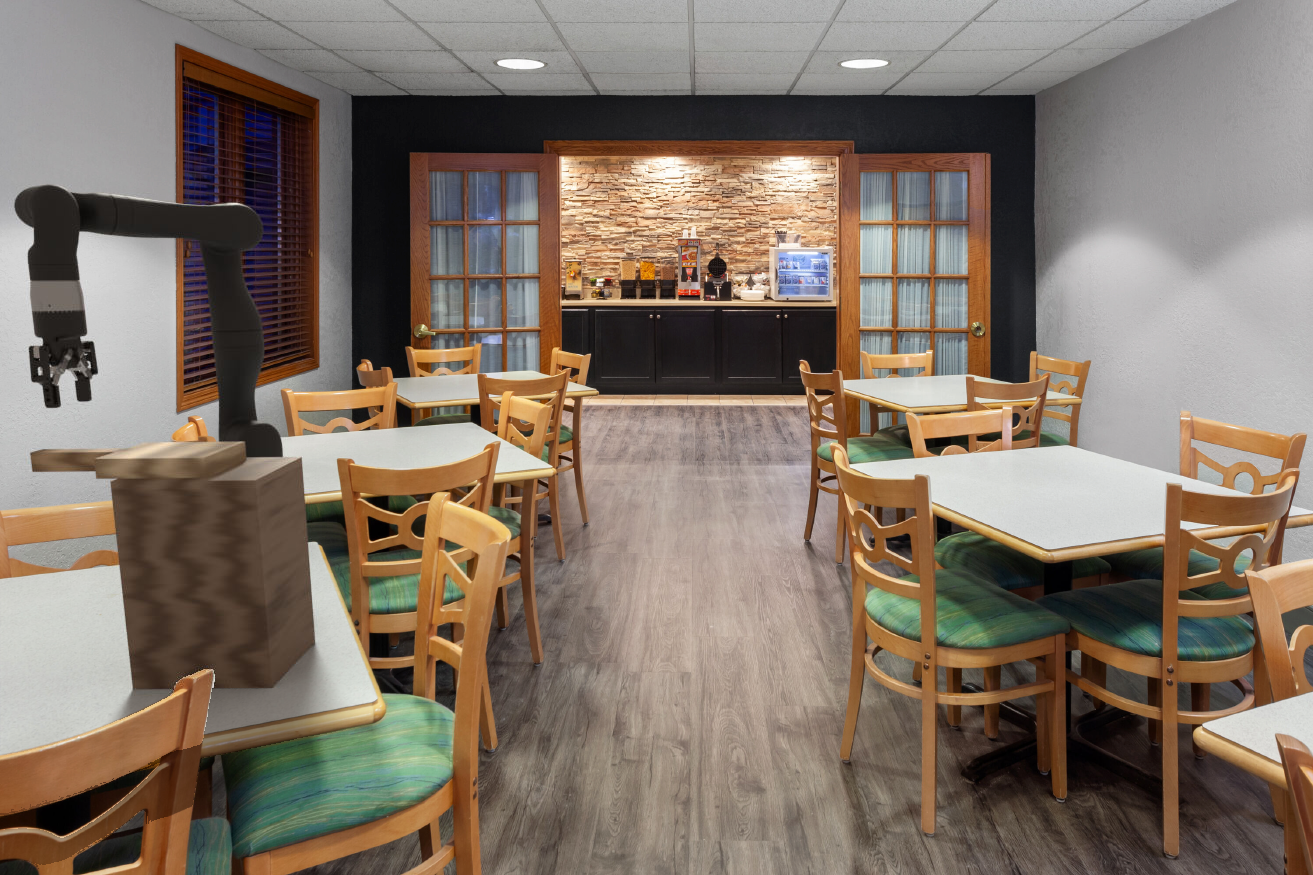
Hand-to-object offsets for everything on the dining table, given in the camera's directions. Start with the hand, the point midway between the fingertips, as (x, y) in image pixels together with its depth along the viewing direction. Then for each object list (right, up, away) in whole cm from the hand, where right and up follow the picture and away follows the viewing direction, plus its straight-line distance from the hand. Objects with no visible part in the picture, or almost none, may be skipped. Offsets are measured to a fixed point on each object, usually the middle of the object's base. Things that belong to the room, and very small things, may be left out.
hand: (69, 404), depth 157 cm
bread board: (+19, -11, -15) cm, 26 cm away
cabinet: (+31, -42, -9) cm, 53 cm away
